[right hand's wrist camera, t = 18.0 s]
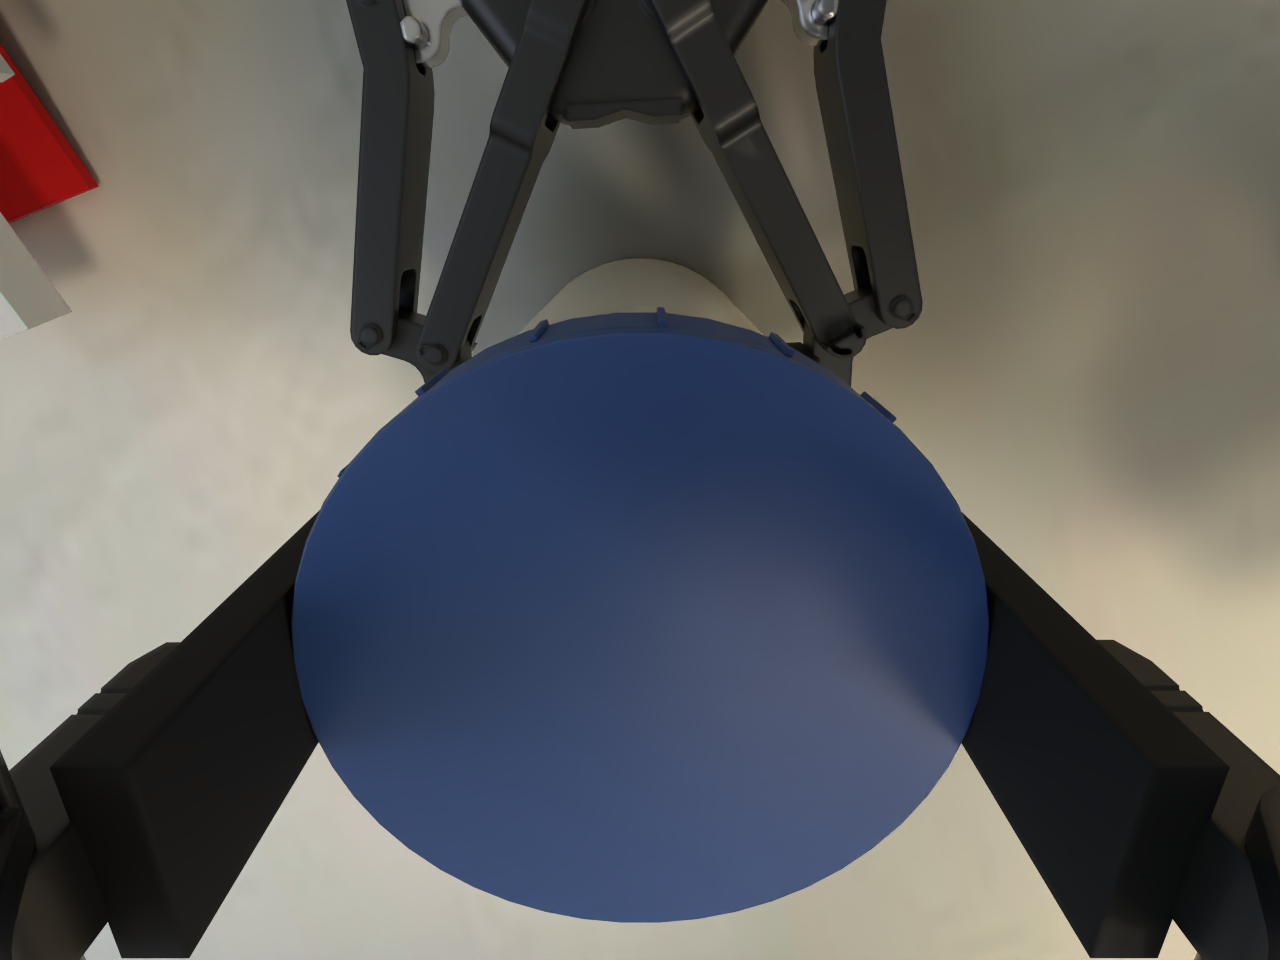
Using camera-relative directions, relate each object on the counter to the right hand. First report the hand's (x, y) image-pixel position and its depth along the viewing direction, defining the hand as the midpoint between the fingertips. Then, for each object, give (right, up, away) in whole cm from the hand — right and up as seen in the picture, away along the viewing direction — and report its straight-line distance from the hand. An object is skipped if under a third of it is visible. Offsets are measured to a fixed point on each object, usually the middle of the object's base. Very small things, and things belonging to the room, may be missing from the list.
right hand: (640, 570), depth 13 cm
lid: (0, -1, -3) cm, 3 cm away
